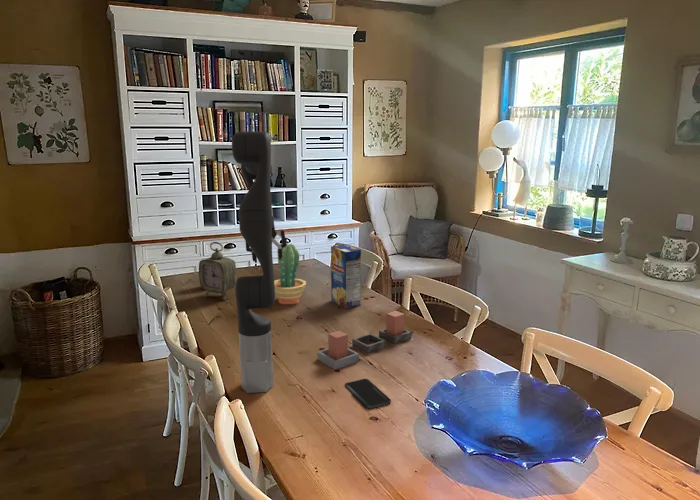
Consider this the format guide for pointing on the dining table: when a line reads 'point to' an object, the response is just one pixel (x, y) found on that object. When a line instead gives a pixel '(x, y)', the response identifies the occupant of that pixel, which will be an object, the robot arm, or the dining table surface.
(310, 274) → the dining table surface
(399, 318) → the block
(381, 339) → the dark grey double holder
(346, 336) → the block
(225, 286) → the tabletop clock
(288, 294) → the potted cactus
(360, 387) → the phone
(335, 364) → the box
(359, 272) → the juice carton
